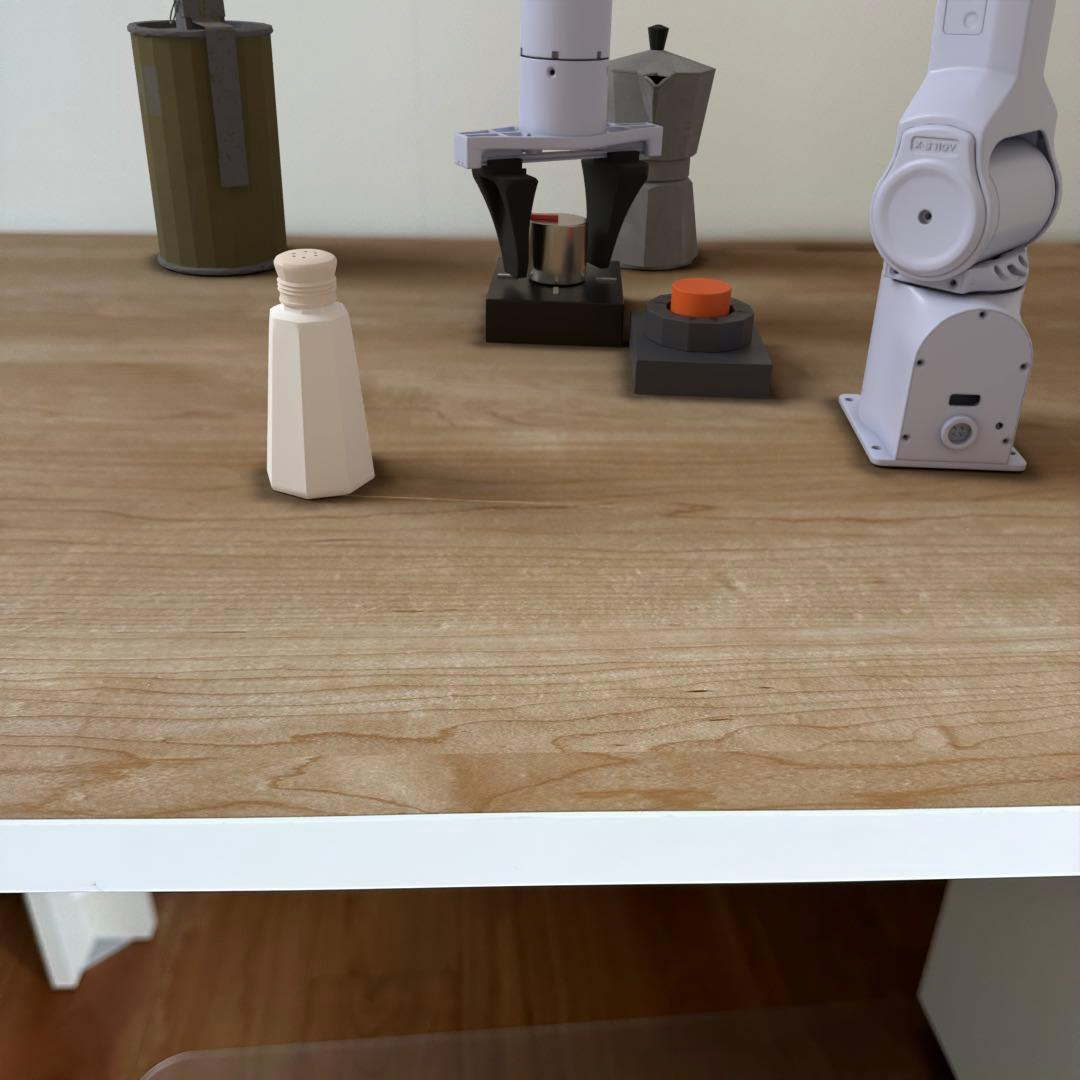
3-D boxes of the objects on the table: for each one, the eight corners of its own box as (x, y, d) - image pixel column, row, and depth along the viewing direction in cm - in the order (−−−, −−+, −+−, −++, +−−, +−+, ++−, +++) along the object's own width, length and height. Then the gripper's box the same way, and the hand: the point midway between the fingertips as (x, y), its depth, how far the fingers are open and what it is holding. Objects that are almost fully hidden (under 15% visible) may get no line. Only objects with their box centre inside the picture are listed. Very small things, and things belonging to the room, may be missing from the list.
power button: (731, 323, 69) (735, 294, 68) (672, 321, 69) (674, 292, 68) (725, 305, 72) (728, 278, 71) (668, 303, 72) (670, 276, 71)
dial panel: (621, 348, 75) (624, 301, 74) (485, 343, 75) (485, 296, 74) (617, 300, 85) (620, 258, 83) (497, 296, 85) (497, 254, 83)
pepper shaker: (338, 445, 60) (325, 234, 55) (397, 480, 56) (389, 258, 51) (245, 471, 57) (221, 250, 51) (300, 510, 53) (281, 277, 48)
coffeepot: (702, 279, 90) (725, 33, 82) (584, 274, 91) (595, 28, 82) (693, 234, 104) (712, 19, 96) (590, 230, 104) (601, 15, 96)
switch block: (768, 400, 67) (777, 334, 65) (633, 394, 68) (638, 329, 66) (747, 345, 76) (754, 287, 74) (628, 341, 76) (632, 282, 74)
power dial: (585, 271, 80) (588, 209, 78) (585, 286, 77) (588, 222, 75) (529, 269, 80) (530, 207, 78) (526, 284, 77) (528, 220, 75)
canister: (146, 250, 94) (109, -19, 84) (270, 239, 98) (248, -18, 89) (175, 283, 86) (138, -12, 76) (309, 269, 90) (289, -11, 81)
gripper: (628, 48, 78) (616, 246, 84) (433, 52, 72) (437, 265, 78) (686, 58, 73) (669, 270, 79) (481, 63, 66) (480, 292, 73)
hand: (557, 269), depth 78 cm, fingers open, 6 cm apart
